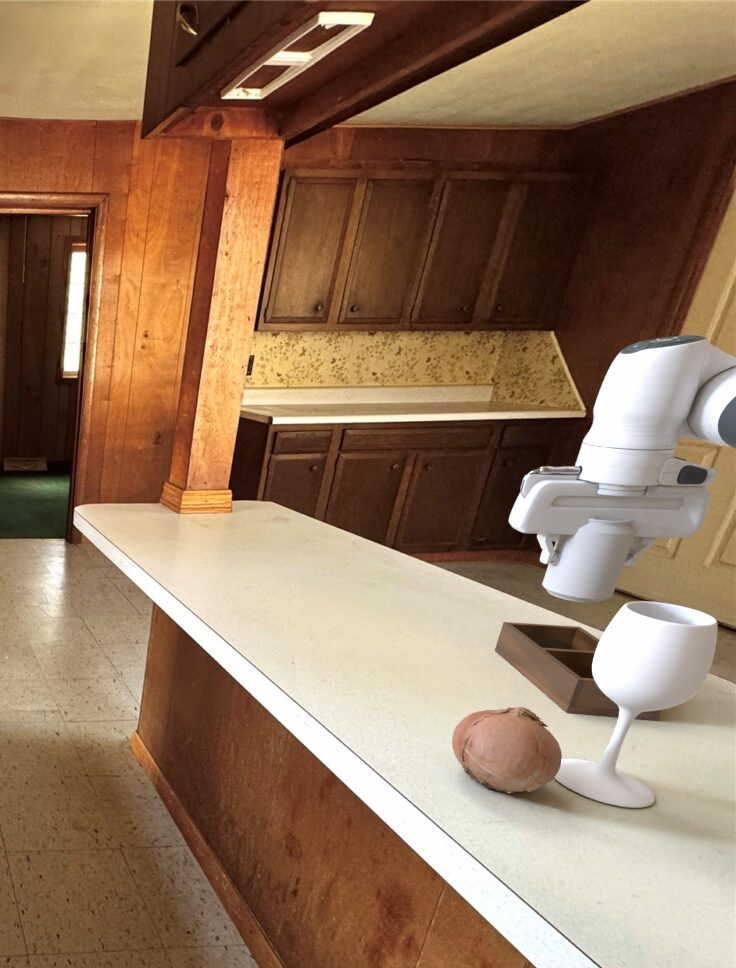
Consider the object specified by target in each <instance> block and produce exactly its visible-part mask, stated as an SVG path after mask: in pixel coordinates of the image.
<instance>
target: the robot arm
mask: <svg viewBox="0 0 736 968" xmlns="http://www.w3.org/2000/svg"><path fill="white" fill-rule="evenodd" d="M592 413H593V414H592V415H593V419H592V424H591V427H590V429H589V431H588V432H587V433H586V434H585V436H584V438H583V439H582V442H581V445H580V449H579V452H578V454H577V458H576V460H575V463H574V464H575V465H571V466H570V465H564V466H563V465H562V466H553V465H545V466H544V465H542V466H539V467H538V468H536V469H533V470H531V471H529V472H528V473H526V474H525V475H524V477H523V478H522V481H521V485H520V489H519V491H520V492H519V493H518V496H517V497H516V500H515V502H514V504H513V506H512V509H511V510H510V513H509V517H508V523H509V525H510V527H511V528H512V529H514V530H515V531H518V532H519V533H523V534H537V535H536V539H537V541H538V544H539V546H540V548H541V550H542V551H541V553H540V557H539V562H540V563H542V564H543V565H544V564H545V565H549V564H558V563H559V559H560V558H561V555H562V553H560V552H557V551H556V550H554V547H555V546H554V544H553V542H556V541H557V539H558V537H559V534H564V535H575V534H576V533H577V531H578V529H579V528H581V527H583V526H585V525H587V524H588V523H589V520H588V519H598V520H608V521H627V520H633V522H631V526H632V527H633V528H634V529H635V530H636V533H635V536H634V539H633V541H632V544H631V547H630V549H629V552H628V555H627V557H626V560H625V563H624V565H623V568H631V569H632V568H634V567H635V566H636V563H637V562H638V558H639V557H641V556H642V555H643V554H645V553H646V552H648V550H649V549H651V548H652V547H654V545H655V543H656V540H657V538H658V539H661V538H662V539H690V538H691V537H694V536H695V535H696V534H697V533H699V532H700V531H701V529H702V527H703V526H704V523H705V520H706V517H707V514H708V511H709V508H710V504H711V501H712V495H711V491H710V489H709V488H708V486H711V485H713V483H714V482H715V481H716V479H717V477H718V471H717V470H716V469H714V468H711V467H709V466H706V465H705V466H704V465H703V464H698V463H694V462H691V461H687V459H685V458H683V457H678V456H675V452H676V449H677V447H678V444H679V442H680V441H681V440H683V439H686V438H689V439H693V440H696V441H701V442H705V443H708V444H712V445H716V446H722V447H727V448H731V449H734V450H736V356H735V355H732V354H729V353H727V352H726V351H723V350H722V349H720V348H719V347H716V346H715V345H713V344H712V343H710V341H709V339H708V338H707V337H706V336H701V335H698V334H697V335H695V334H694V335H692V334H686V335H676V336H663V337H656V338H651V339H646V340H641V341H638V342H635V343H632V344H630V345H627V347H625V348H623V349H622V350H620V352H619V353H618V354H617V355H616V356H615V358H614V359H613V361H612V362H611V364H610V366H609V368H608V370H607V372H606V374H605V376H604V379H603V381H602V383H601V386H600V388H599V391H598V394H597V397H596V400H595V403H594V406H593V409H592ZM706 486H707V487H706Z"/></svg>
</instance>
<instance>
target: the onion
mask: <svg viewBox="0 0 736 968" xmlns="http://www.w3.org/2000/svg"><path fill="white" fill-rule="evenodd" d="M547 728H549V726H548V724H546V723H544V721H542V718H540V717H539V716H538V715H537V714H536V713H535V712H533V711H532V710H531V709H529V708H526V707H522V706H517V707H510V706H508V707H507V708H502V709H486V710H480V711H475V712H472V713H470V714H468V715H466V716H465V717H463V719H461V720H460V721H459V723H458V724H457V725H456V726H455V728H454V729H453V732H452V736H451V737H452V738H451V745H452V750H453V753H454V755H455V758H456V760H457V761H458V763H459V764H460V765H461V767H462V768H463V772H464V773H465V774H466V776H467V777H468V778H470V779H471V780H473V781H474V782H475V783H478V784H479V785H481V786H483V788H485V789H486V790H488V789H489V788H490V789H493V790H496V792H505V793H507V794H511V793H512V794H513V793H515V792H520V793H522V792H528V793H530V792H533V791H535V790H537V789H538V788H541V787H544V786H545V785H546V786H547V784H549V783H551V782H552V781H553V779H555V778H554V777H555V776H556V775H557V773H558V771H559V769H560V766H561V759H563V757H562V756H563V755H562V749H561V746H560V743H559V741H558V740H557V738H556V737H555V736H554V735H553V734H552V733H551V732H550V731H549V730H548V729H547Z"/></svg>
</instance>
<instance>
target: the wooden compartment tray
mask: <svg viewBox="0 0 736 968" xmlns="http://www.w3.org/2000/svg"><path fill="white" fill-rule="evenodd" d="M599 641H600V639H599V638H598V637H596V636H595V635H594V634H592V633H590V632H589V631H587V630H586V629H584V628H582V627H581V626H574V625H573V626H572V625H561V624H560V625H559V624H541V623H526V622H525V623H524V622H511V621H510V622H509V621H508V622H507V621H503V622H502V625H501V629H500V632H499V635H498V638H497V641H496V645H495V648H494V651H495V653H497V654H498V655H499V656H500V657H501V658H503V659H504V660H505V661H506V662H507V663H509V664H510V665H511V666H512V667H513V668H514V669H515V670H516V671H517V672H519V673H520V674H521V675H522V676H523V677H524V678H525V679H527V680H528V681H529V682H530V683H531V684H533V685H534V686H535V687H536V688H537V689H538V690H540V692H541V693H543V694H544V695H545V696H547V698H549V699H550V700H551V701H552V702H553V703H554V704H556V705H557V706H558V707H559V708H560V709H561V710H563V711H564V712H565V713H568V714H579V715H588V716H589V715H590V716H602V717H613V718H618V717H619V707H618V705H617V704H616V703H615V702H613V701H612V700H611V699H610V698H608V697H607V696H606V695H605V694H604V693H603V692H602V691H601V690H600V688H599V687H598V685H597V684H596V682H595V680H594V677H593V673H592V663H593V658H594V655H595V652H596V649H597V646H598V644H599ZM662 711H663V710H657V711H646V712H642V713H640V714H638V715H637V716H636V718H635V719H634V720H644V721H656V722H657V721H658V722H659V719H660V717H661V714H662Z"/></svg>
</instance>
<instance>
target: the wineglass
mask: <svg viewBox="0 0 736 968" xmlns="http://www.w3.org/2000/svg"><path fill="white" fill-rule="evenodd" d="M718 625H719V624H718V621H717V619H716V618H715V617H713V616H712V615H710V614H708V613H705V612H702V611H700V610H697V609H694V608H690V607H686V606H682V605H677V604H672V603H667V602H660V601H650V600H649V601H648V600H635V601H629V602H626V603H625V604H623V606H621V608H620V609H619V611H617V613H616V614H615V615H614V616H613V617H612V619H611V621H610V622H609V624H608V625H607V627H606V628H605V630H604V632H603V634H602V635H601V637H600V639H599V640H600V641H599V644H598V646H597V649H596V652H595V655H594V658H593V663H592V673H593V677H594V680H595V682H596V684H597V685H598V687H599V688H600V690H601V691H602V692H603V693H604V694H605V695H606V696H607V697H608V698H610V699H611V700H612V701H613V702H615V703H616V704H617V705H618V707H619V717H617V721H616V725H615V727H614V731H613V732H612V733H613V734H612V736H611V738H610V740H609V742H608V744H607V747H606V749H605V750H604V753H603V754H602V756H601V758H600V759H599V761H593V760H589V759H582V758H562V759H561V766H560V769H559V771H558V773H557V775H556V776H555V777H554V778H553V779H555V780H556V781H557V782H558V783H560V784H561V785H563V786H564V787H566V788H567V789H569V790H571V791H572V792H574V793H576V794H578V795H581V796H583V797H585V798H588V799H590V800H594V801H597V802H600V803H603V804H606V805H611V806H614V807H615V806H616V807H622V808H630V809H638V808H639V809H641V808H646V807H649V806H651V805H653V804H654V803H655V802H656V796H655V793H654V792H653V790H651V788H650V787H649V786H648V785H647V784H645V783H644V782H642V781H641V780H639V779H638V778H637V777H635V776H634V775H632V774H630V773H628V772H626V771H624V770H621V769H619V768H616V765H617V761H618V758H619V755H620V752H621V749H622V747H623V743H624V742H625V741H624V740H625V738H626V736H627V734H628V731H629V730H630V727H631V726H632V723H633V722H634V721H635V720H636V719H635V718H636V716H637V715H638V714H640V713H642V712H646V711H657V710H662V711H664V710H667V709H671V708H673V707H677V706H680V705H682V704H683V703H685V702H687V701H689V700H690V699H691V698H693V697H694V696H695V695H696V694H697V693H698V692H699V690H700V689H701V687H702V686H703V684H704V682H705V680H706V679H707V677H708V675H709V672H710V670H711V668H712V664H713V661H714V657H715V653H716V647H717V640H718Z"/></svg>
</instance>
